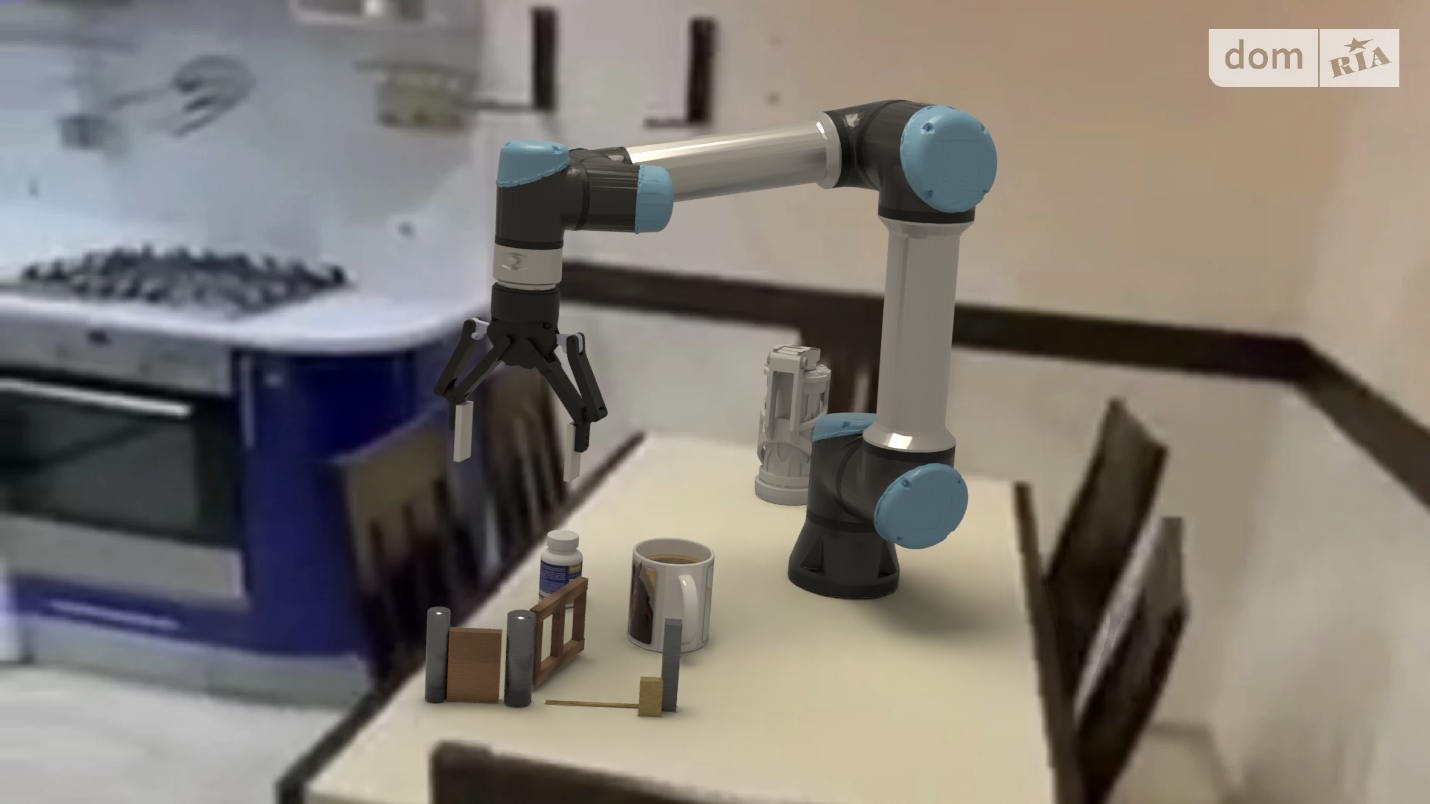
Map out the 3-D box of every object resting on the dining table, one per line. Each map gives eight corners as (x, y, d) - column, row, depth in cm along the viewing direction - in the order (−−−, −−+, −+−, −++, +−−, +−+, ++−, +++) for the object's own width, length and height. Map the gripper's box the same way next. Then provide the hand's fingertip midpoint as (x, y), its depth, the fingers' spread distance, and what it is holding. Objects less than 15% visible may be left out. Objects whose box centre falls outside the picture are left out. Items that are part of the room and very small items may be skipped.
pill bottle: (573, 611, 197) (577, 544, 195) (533, 605, 198) (536, 538, 196) (585, 597, 202) (589, 531, 200) (545, 591, 203) (549, 525, 201)
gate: (535, 686, 173) (539, 611, 171) (525, 684, 174) (529, 609, 172) (584, 649, 184) (588, 578, 182) (574, 647, 185) (578, 576, 182)
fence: (656, 701, 173) (662, 616, 171) (656, 713, 171) (663, 626, 168) (426, 691, 172) (429, 605, 169) (423, 703, 169) (426, 615, 166)
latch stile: (675, 704, 173) (681, 619, 171) (676, 717, 170) (683, 630, 168) (637, 703, 173) (643, 617, 170) (638, 715, 170) (644, 628, 167)
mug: (724, 632, 194) (731, 547, 192) (691, 667, 183) (698, 577, 180) (644, 616, 197) (650, 532, 195) (607, 650, 186) (612, 561, 184)
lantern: (764, 482, 257) (777, 331, 251) (826, 493, 254) (841, 340, 248) (739, 503, 245) (752, 345, 239) (804, 514, 242) (818, 355, 236)
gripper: (408, 272, 174) (401, 458, 179) (619, 303, 167) (605, 495, 172) (441, 264, 181) (433, 443, 186) (644, 293, 174) (631, 478, 179)
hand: (516, 469), depth 179 cm, fingers open, 13 cm apart
